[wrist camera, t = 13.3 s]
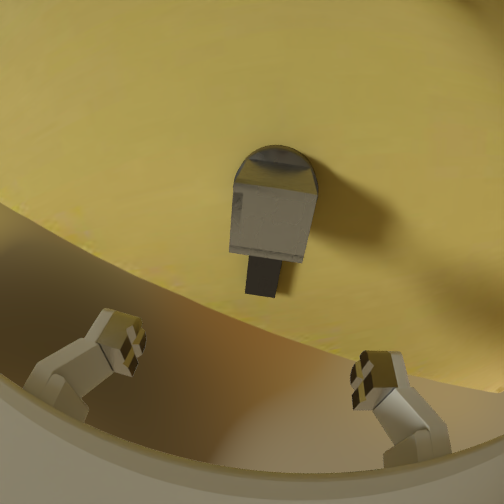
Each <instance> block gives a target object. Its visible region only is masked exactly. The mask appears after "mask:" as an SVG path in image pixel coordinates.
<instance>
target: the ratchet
mask: <svg viewBox="0 0 504 504" xmlns="http://www.w3.org/2000/svg"><path fill="white" fill-rule="evenodd" d="M247 159H256V160H264V161H271V162H278V163H285V164H291V165H297V166H303V167H309V168H311V171H312V175H313V179H314V183H315V187H316V191H317V198H318V183H317V179H316V176H315V172H314V169H313V167H312V165H311V164H310V162H309V161H308V160H307V158H306V157H305V156H304V155H302V154H301V153H300V152H298V151H297V150H295V149H293V148H290V147H287V146H282V145H269V146H265V147H262V148H259V149H257V150H255V151H254V152H252V153H251V154H250V155H249V156H247V158H246V159H245V160H244V161H243V163H242V164H241V166H240V168H239V169H238V171H237V173H236V176H235V179H234V182H235V180H236V178H237V176H238V175H239V173H240V171H241V169H242V168H243V166H244V164H245V162H246V160H247ZM233 190H234V185H233ZM316 202H317V200H316ZM281 264H282V260H277V259H270V258H264V257H257V256H250V255H249V261H248V270H247V279H246V288H245V294H252V295H258V296H265V297H272V298H275V294H276V289H277V284H278V279H279V274H280V269H281Z"/></svg>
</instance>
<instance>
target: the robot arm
mask: <svg viewBox="0 0 504 504" xmlns="http://www.w3.org/2000/svg"><path fill="white" fill-rule="evenodd" d="M142 324H143V323H142V319H141V318H139V317H136V316H132V315H128V314H125V313H121V312H118V311H115V310H111V309H108V308H105V309H103V310H102V311H101V313H100V314H99V316H98V317H97V319H96V321H95V322H94V324H93V325H92V327H91V328H90V330H89V332H88V333H87V335H86V337H85V338H80V339H78V340H77V341H75V342H73V343H71V344H70V345H68V346H66V347H64V348H62V349H61V350H59V351H57V352H56V353H54V354H52V355H50V356H48V357H47V358H45V359H44V360H41V361H40V362H38V363H37V364H36V366H35V368H34V369H33V371H32V373H31V374H30V376H29V378H28V380H27V381H26V383H25V385H24V387H23V389H22V388H21V387H19V386H18V385H16V384H15V383H13V382H12V381H10V380H9V379H8V378H6V377H5V376H3V375H2V374H1V373H0V504H504V435H502V436H499V437H497V438H494V439H492V440H489V441H487V442H484V443H482V444H479V445H476V446H474V447H471V448H468V449H465V450H462V451H458V452H455V453H452V451H451V445H450V440H449V434H448V429H447V425H446V423H445V422H444V421H443V420H442V419H441V418H440V417H439V416H438V414H437V413H436V412H435V411H434V410H433V409H432V408H431V406H430V405H429V404H428V403H427V402H426V401H425V400H424V398H423V397H422V396H421V395H420V394H419V393H418V392H417V391H416V390H415V388H414V387H410V384H409V380H408V376H407V372H406V368H405V364H404V360H403V356H402V354H401V352H398V351H369V350H365V351H363V352H362V353H361V355H360V360H359V361H357V362H356V363H355V364H354V366H353V367H352V370H351V374H350V383H351V386H352V387H353V389H354V390H355V391H354V393H353V394H352V404H353V410H373V413H374V414H375V416H376V418H377V419H378V421H379V422H380V424H381V425H382V427H383V428H384V430H385V432H386V433H387V435H388V436H389V438H390V439H391V441H392V442H393V444H394V445H395V446H394V447H392V448H390V449H389V450H387V451H386V452H385V453H384V454H383V461H384V468H383V469H375V470H366V471H356V472H342V473H281V472H266V471H257V470H247V469H240V468H233V467H226V466H220V465H215V464H209V463H204V462H199V461H194V460H190V459H186V458H182V457H178V456H174V455H170V454H166V453H163V452H160V451H156V450H153V449H150V448H147V447H143V446H141V445H138V444H135V443H132V442H129V441H126V440H123V439H121V438H118V437H116V436H113V435H111V434H108V433H106V432H103V431H101V430H98V429H96V428H94V427H92V426H89V425H87V424H85V423H84V421H85V418H86V416H87V413H88V411H89V408H88V406H87V405H86V404H85V403H84V402H83V400H82V399H81V398H82V396H84V395H85V394H87V393H88V392H89V391H91V390H92V389H93V388H94V387H96V386H97V385H98V384H99V383H101V382H102V381H103V380H104V379H106V378H107V377H108V376H109V375H111V374H112V373H113V371H114V372H117V373H120V374H123V375H127V376H130V377H132V376H133V375H134V372H135V370H136V368H137V365H138V361H137V357H139V356H140V355H142V354H143V351H144V349H145V345H146V334H145V331H144V330H143V329H142V328H141V327H142Z"/></svg>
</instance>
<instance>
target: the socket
mask: <svg viewBox="0 0 504 504" xmlns="http://www.w3.org/2000/svg"><path fill="white" fill-rule="evenodd" d="M316 200H317V191H316V187H315V183H314V179H313V175H312V171H311V168H309V167H303V166H297V165H291V164H285V163H278V162H271V161H264V160H256V159H247V160H246V162H245V164H244V166H243V168H242V169H241V171H240V173H239V175H238V176H237V178H236V180H235V182H234V190H233V203H232V216H231V230H230V245H229V252H231V253H237V254H244V255H250V256H257V257H264V258H270V259H277V260H283V261H290V262H297V263H302V261H303V257H304V253H305V249H306V245H307V240H308V236H309V232H310V227H311V223H312V219H313V214H314V209H315V205H316Z"/></svg>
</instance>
